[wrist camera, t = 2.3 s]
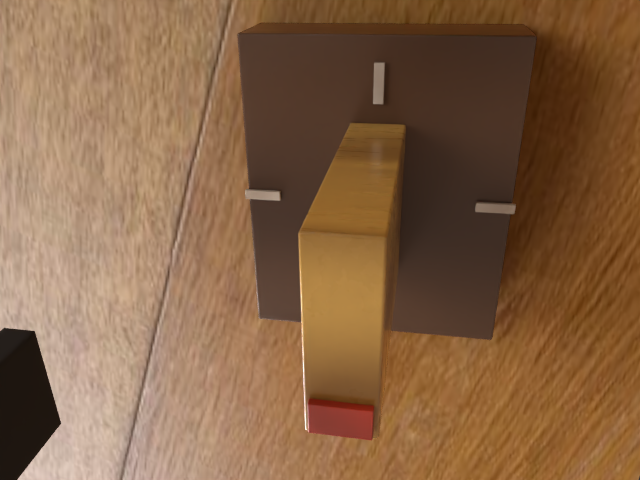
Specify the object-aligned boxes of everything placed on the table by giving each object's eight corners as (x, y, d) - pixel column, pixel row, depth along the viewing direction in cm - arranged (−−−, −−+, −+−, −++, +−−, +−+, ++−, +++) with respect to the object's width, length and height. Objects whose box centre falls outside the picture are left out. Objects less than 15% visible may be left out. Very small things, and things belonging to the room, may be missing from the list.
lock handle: (350, 122, 21) (294, 236, 13) (406, 124, 20) (386, 242, 12) (348, 267, 24) (302, 437, 15) (398, 271, 23) (377, 447, 15)
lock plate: (257, 22, 23) (232, 33, 20) (528, 24, 21) (541, 36, 18) (272, 283, 28) (255, 320, 25) (488, 301, 27) (494, 343, 24)
